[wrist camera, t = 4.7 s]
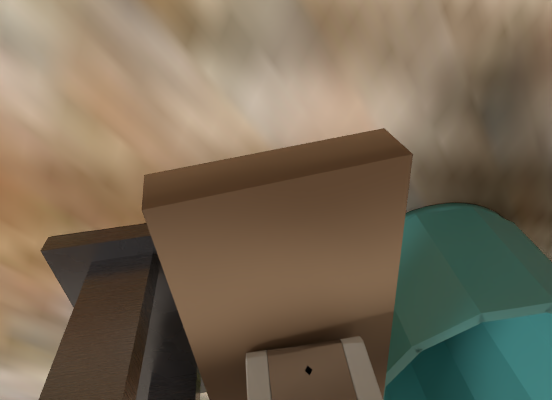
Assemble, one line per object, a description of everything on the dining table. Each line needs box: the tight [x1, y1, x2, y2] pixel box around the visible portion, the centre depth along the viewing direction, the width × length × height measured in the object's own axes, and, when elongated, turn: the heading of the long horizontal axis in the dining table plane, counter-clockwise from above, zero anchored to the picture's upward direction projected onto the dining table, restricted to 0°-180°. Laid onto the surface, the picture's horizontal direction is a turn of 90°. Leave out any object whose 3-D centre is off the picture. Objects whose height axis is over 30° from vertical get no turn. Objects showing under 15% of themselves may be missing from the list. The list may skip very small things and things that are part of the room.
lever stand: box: [39, 224, 207, 400], centre depth 20 cm, size 14×7×10 cm, turn 5°
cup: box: [383, 203, 552, 400], centre depth 22 cm, size 11×11×7 cm
